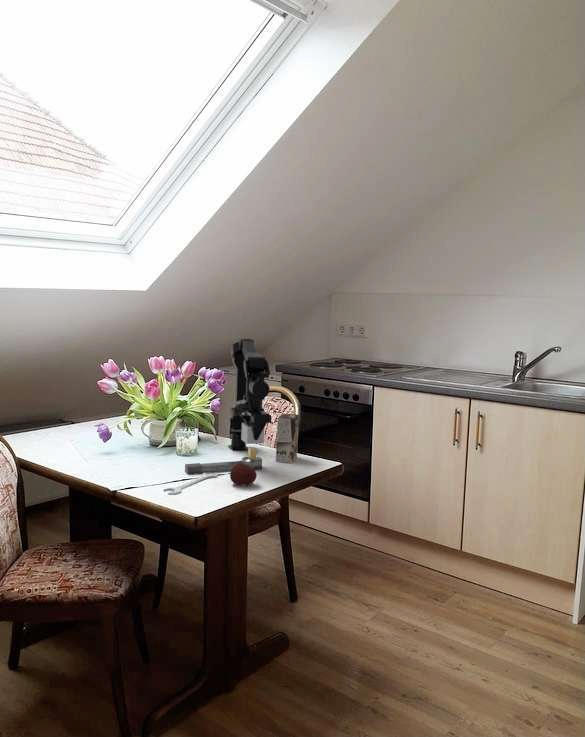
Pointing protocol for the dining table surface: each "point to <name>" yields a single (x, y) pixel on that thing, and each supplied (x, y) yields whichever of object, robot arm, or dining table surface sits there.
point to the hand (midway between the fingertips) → (252, 437)
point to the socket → (250, 434)
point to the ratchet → (225, 464)
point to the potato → (242, 474)
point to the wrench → (189, 483)
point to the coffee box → (287, 438)
